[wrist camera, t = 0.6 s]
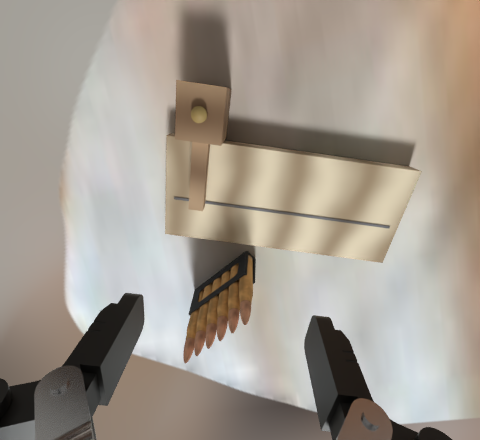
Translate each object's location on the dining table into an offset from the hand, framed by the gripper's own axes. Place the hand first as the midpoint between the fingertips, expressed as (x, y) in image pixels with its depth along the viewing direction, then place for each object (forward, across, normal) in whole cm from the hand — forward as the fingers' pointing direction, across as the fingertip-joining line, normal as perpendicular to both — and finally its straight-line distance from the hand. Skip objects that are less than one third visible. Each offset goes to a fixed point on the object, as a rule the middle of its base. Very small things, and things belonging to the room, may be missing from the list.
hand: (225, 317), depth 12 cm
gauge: (+22, +5, -4) cm, 23 cm away
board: (+22, -5, +2) cm, 23 cm away
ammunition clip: (+22, +1, +15) cm, 26 cm away
